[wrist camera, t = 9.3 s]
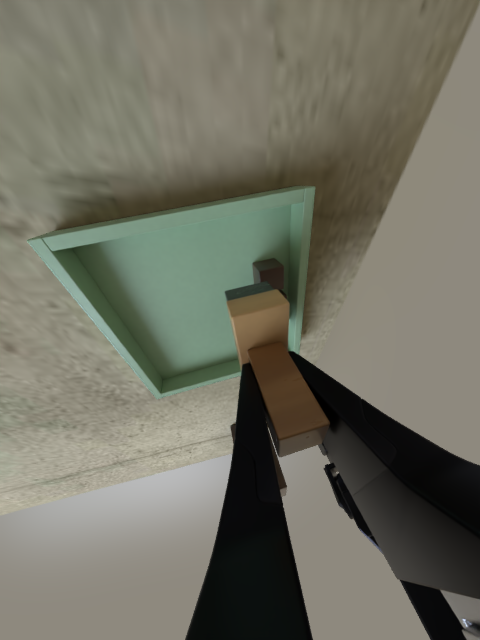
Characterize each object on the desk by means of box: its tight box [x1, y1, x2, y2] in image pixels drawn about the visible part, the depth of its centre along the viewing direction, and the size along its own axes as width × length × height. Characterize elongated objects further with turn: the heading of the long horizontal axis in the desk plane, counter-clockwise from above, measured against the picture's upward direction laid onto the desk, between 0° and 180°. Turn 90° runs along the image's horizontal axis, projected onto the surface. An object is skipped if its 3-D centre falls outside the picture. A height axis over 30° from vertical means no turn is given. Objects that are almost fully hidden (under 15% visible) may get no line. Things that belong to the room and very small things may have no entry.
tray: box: [27, 186, 315, 399], centre depth 13 cm, size 13×13×2 cm
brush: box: [225, 281, 330, 457], centre depth 9 cm, size 6×3×7 cm, turn 7°
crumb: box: [252, 258, 284, 290], centre depth 12 cm, size 2×2×2 cm
